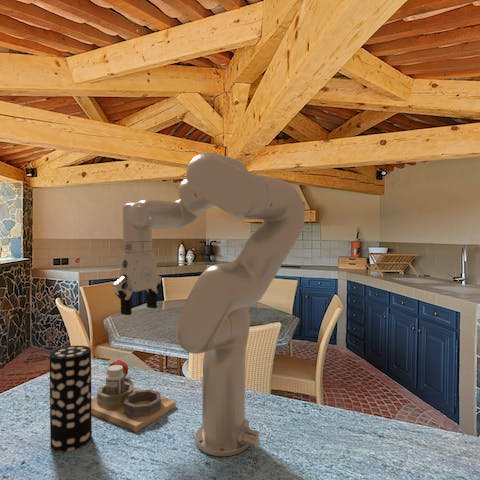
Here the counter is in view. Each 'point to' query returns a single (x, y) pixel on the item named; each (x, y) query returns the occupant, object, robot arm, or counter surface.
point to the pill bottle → (115, 380)
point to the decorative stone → (125, 368)
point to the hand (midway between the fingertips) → (139, 310)
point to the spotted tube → (70, 398)
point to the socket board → (130, 407)
